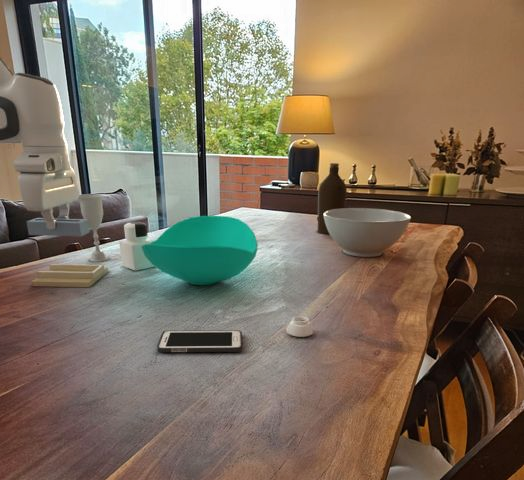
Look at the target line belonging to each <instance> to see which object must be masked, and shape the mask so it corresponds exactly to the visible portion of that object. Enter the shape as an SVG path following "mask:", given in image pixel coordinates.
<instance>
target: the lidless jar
mask: <svg viewBox="0 0 524 480" xmlns="http://www.w3.org/2000/svg"><path fill="white" fill-rule="evenodd" d="M286 333H287V334H288V335H290V336H291V337H292V336H293V337H296V338H305V337H309V336H311V335H313V333H314V328H313V326H312V324H311V322H310V321H309V318H308V317H307V316H303V315H297V316H293V317H292V319H291V321H290V322H289V323H288V325H287V327H286Z"/></svg>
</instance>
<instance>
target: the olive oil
mask: <svg viewBox="0 0 524 480" xmlns="http://www.w3.org/2000/svg"><path fill="white" fill-rule="evenodd" d="M339 165H340V164H339V163H338V162H330V164H329V173H328V175H327V176H326V177H325V178H324V179H323V180H322V181H321V183H320V184H319V187H318V193H317V217H316V220H317V233H319V234H323V235H324V234H325V235H330V234H329V232H328V229H327V227H326V224H325V220H324V212H325V211H328V210H332V209H341V208H345V207H346V199H347V191H348V190H347V185H346V183H345V181H344V180H343V178H341V176H340V174H339V170H340V167H339Z"/></svg>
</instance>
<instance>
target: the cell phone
mask: <svg viewBox="0 0 524 480" xmlns="http://www.w3.org/2000/svg"><path fill="white" fill-rule="evenodd" d="M156 350H157V352H159V353H237V352H241V351H242V350H243V332H242V331H241V330H238V329H230V330H229V329H226V330H224V329H219V330H218V329H217V330H216V329H214V330H213V329H211V330H209V329H207V330H205V329H204V330H199V329H198V330H196V329H195V330H163V331H162V333H161V335H160V338H159V340H158V343H157V346H156Z"/></svg>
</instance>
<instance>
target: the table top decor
mask: <svg viewBox="0 0 524 480" xmlns="http://www.w3.org/2000/svg"><path fill="white" fill-rule="evenodd" d="M153 241H154V242H152V243H150V244H144V245H143V246H142V250H143V253H144V255H145V257H146V258H147V259H148V260H149V261H150V262H151V263H152V264H153V265H154V266H155V267H154V268H157V269H158V270H160V271H161V272H163V273H164V274H167V275H169V276H171V277H174V278H176V279H179V280H182V281H184V282H186V283H188V284H190V285H193V286H210V285H214V284H216V283H218V282H222V281H226V280H230V279H231V278H233V277H236V276H238V275H239V274H240V273H241V272H243V271H244V270H246V269H247V268H248V267H249V266H250V265H251V263H252V262H253V261H254V259H255V258H256V256H257V252H258V246H259V245H258V240H257V237H256V234H255V232H254V231H253V230H252V228H251V227H250V225H248V224H247V223H245V222H244V221H243V220H240V219H239V218H236V217H231V216H224V215H200V216H193V217H192V216H191V217H189V218H186V219H183V220H180V221H178V222H176V223H174V224H173V225H172V226H170V227H168V228H167V229H165V230H164V232H162V233H161V234H160V236H159V237H158V238H157V239H156V240H153Z"/></svg>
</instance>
